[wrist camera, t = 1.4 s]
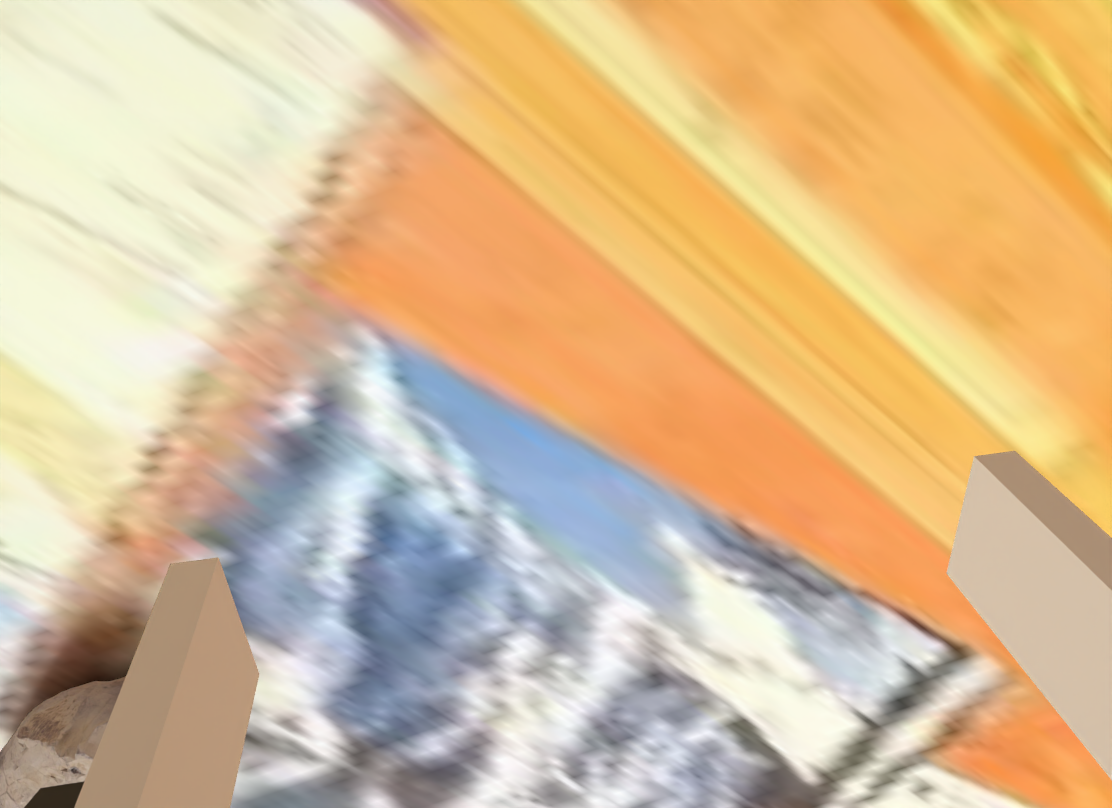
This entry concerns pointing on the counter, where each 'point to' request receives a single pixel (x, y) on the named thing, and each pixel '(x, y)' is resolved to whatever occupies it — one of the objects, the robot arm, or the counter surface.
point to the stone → (56, 741)
